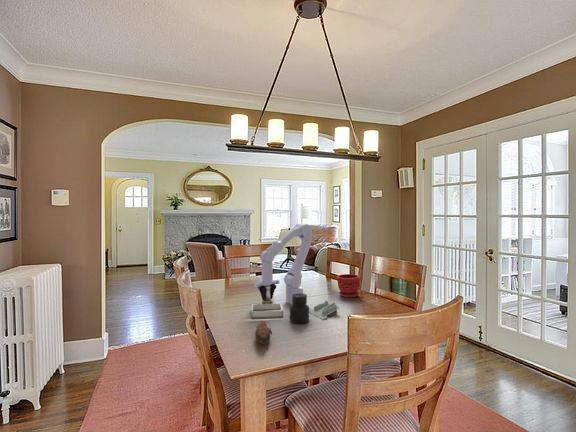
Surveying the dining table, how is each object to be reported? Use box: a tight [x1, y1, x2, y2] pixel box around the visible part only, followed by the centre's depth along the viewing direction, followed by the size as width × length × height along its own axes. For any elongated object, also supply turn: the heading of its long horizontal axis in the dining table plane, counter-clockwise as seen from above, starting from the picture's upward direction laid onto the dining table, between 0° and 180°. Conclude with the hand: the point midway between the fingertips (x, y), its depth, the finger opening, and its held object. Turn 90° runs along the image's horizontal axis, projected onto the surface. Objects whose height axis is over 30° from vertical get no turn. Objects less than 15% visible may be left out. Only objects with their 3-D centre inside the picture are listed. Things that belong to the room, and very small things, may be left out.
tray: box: [250, 302, 284, 320], centre depth 155 cm, size 15×12×4 cm
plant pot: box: [336, 273, 361, 298], centre depth 189 cm, size 13×13×12 cm
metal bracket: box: [309, 300, 341, 321], centre depth 157 cm, size 14×6×15 cm
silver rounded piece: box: [262, 285, 272, 304], centre depth 167 cm, size 4×4×10 cm
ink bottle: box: [289, 293, 310, 325], centre depth 146 cm, size 10×9×12 cm
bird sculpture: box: [254, 320, 273, 349], centre depth 125 cm, size 7×25×5 cm, turn 8°
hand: (267, 299), depth 167 cm, fingers closed on silver rounded piece, 4 cm apart
